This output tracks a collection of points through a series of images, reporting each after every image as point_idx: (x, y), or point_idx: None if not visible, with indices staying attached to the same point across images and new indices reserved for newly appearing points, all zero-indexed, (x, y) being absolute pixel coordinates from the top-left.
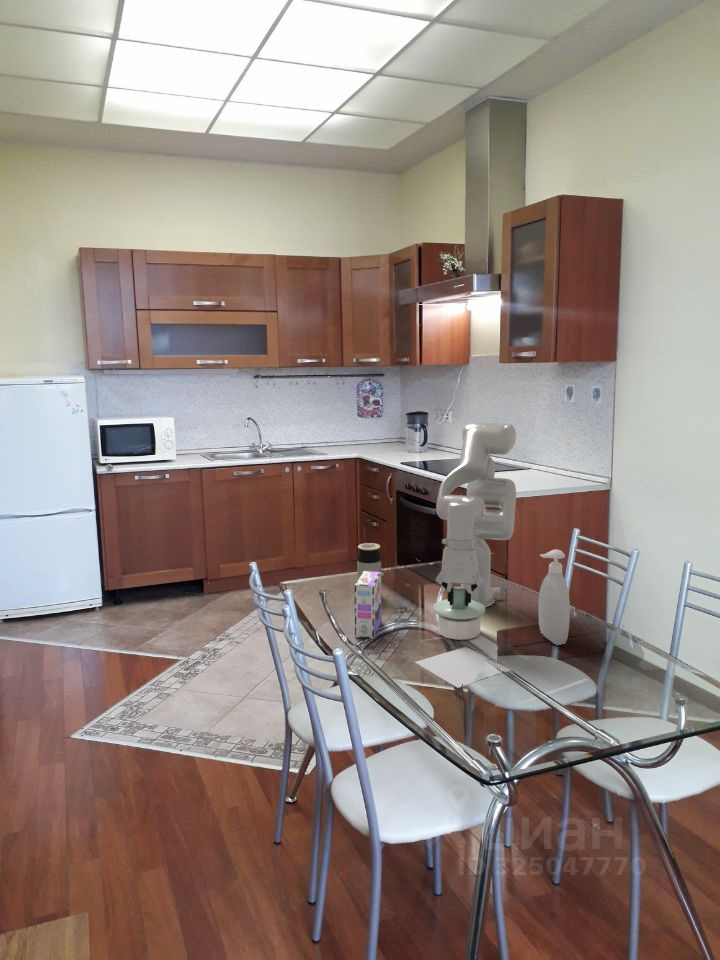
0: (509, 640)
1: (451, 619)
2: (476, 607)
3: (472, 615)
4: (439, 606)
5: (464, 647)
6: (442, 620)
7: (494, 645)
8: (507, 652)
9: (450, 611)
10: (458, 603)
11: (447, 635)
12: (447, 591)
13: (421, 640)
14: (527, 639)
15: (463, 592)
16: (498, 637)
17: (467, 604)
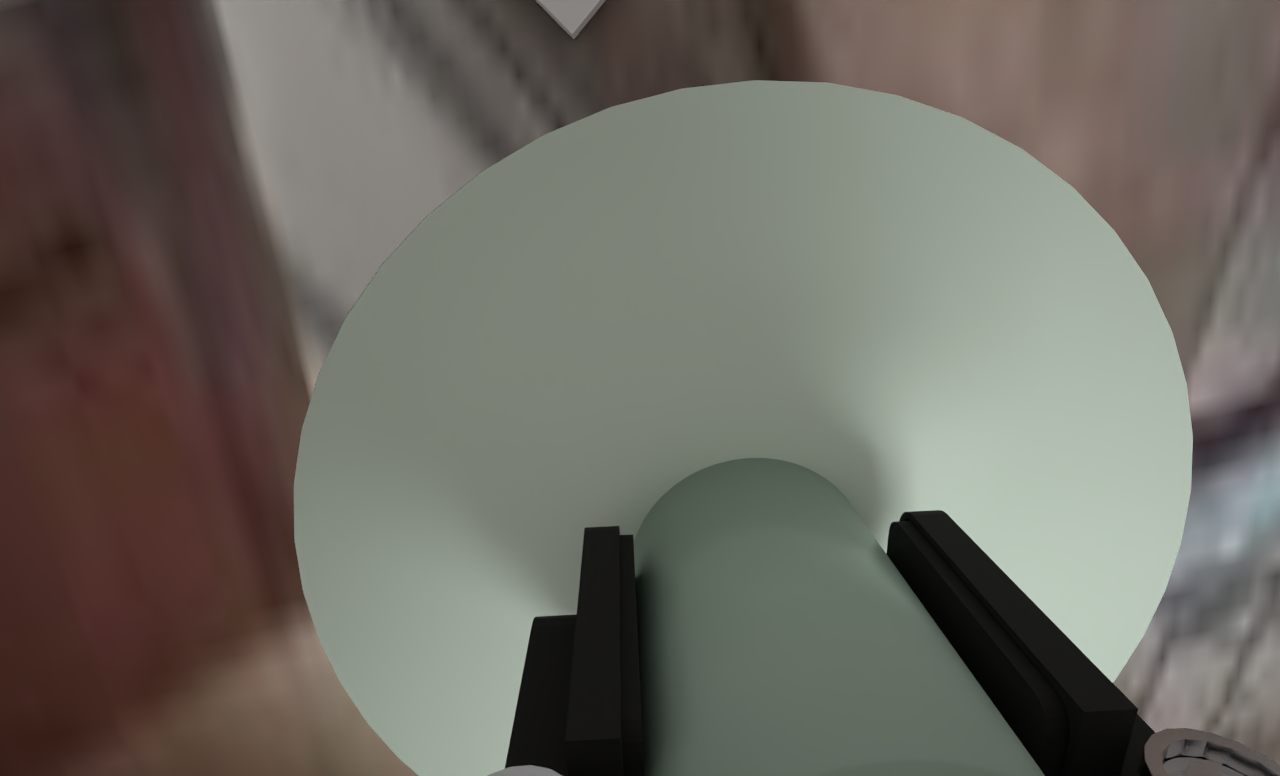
0: (180, 382)
1: None
2: (460, 618)
3: (449, 205)
4: (1083, 524)
5: (585, 5)
6: None
7: (293, 216)
8: (105, 47)
9: (894, 326)
10: (782, 515)
11: None
12: (1229, 742)
13: (1063, 172)
14: (20, 446)
15: (717, 761)
16: None
17: (591, 541)
